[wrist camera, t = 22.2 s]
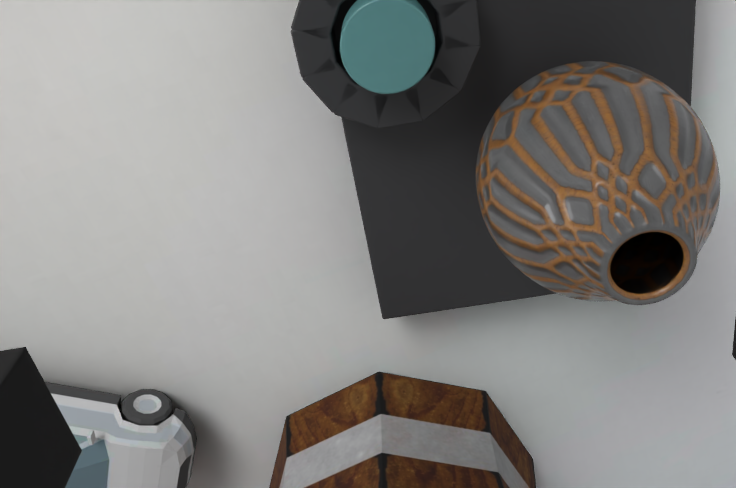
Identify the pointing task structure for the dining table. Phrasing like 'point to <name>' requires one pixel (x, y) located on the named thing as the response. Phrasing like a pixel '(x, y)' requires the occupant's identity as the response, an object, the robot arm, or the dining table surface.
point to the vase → (599, 183)
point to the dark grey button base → (466, 126)
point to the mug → (401, 439)
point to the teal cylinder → (387, 44)
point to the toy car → (127, 439)
